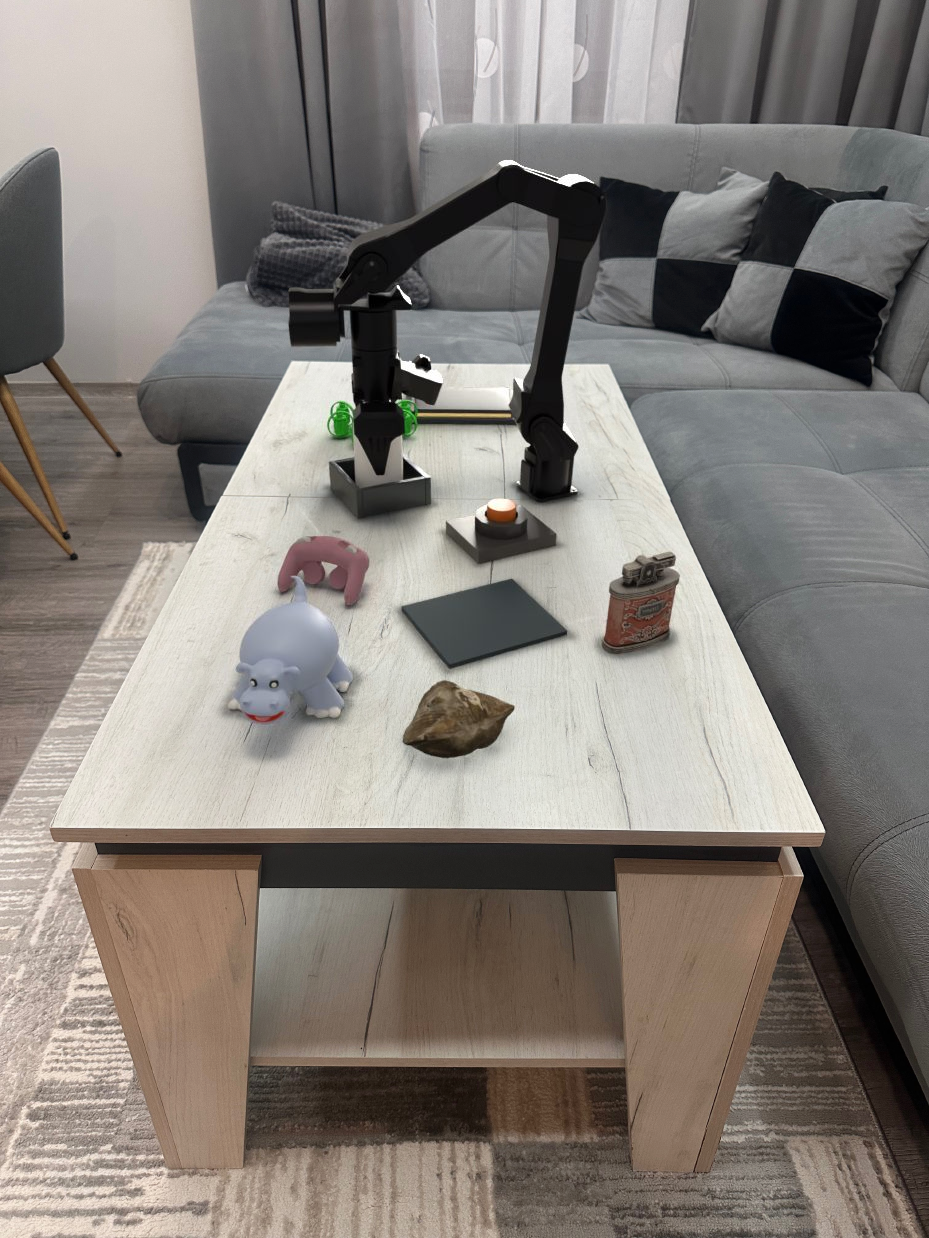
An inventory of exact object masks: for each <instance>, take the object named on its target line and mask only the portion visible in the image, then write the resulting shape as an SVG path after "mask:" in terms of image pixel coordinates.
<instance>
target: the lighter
mask: <svg viewBox="0 0 929 1238" xmlns="http://www.w3.org/2000/svg"><path fill="white" fill-rule="evenodd" d="M676 559H677V555H675V553H674V552H673V551H671V550H670V551H666V552H662V553H657V554H653V555H652V556H649V557H647V556H646V555H644V554H641V555H638V556H636V557H635V559H634V560H633V561H630V562H627V563H623V565H622V569H621V570H622V571H621V575H622V576H620V577H618V578H615V579H613V580H612V581H610V583H609V586H608V592H609V600H608V609H607V616H606V624H605V632H604V636H602V640H601V648H602V649H603V651H605V652H606V653H608V654H610V655H615V656H619V655H625V654H631V653H635V652H639V651H644V650H647V649H649V648H653V647H655V646H657V645H660V644H662V643H664V642H665V641H667V640H668V639H669V638H670V634H671V627H670V625H671V619H672V613H673V606H674V601H675V595H676V589H677V586H678V585H679V583H680V578H681V575H680V573H679V572H678V571H677V570H675V569H673V568H671V567H675V565H676Z"/></svg>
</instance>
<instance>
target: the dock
mask: <svg viewBox="0 0 929 1238" xmlns="http://www.w3.org/2000/svg"><path fill="white" fill-rule="evenodd" d="M402 453H403V480H401V481H395V482H390V483H385V484H380V485H374V486H369V487H364V488H359V487H358V486H357V485H356V480H355V463H354V456H352V457H347V458H341V459H336V460H329V461H328V472H329V473H328V474H329V486H330V489H331V490H332V492H333V493H334V494H335V495H336V497H338V498H339V499H340V501H341V502H342V504H344V505H345V506H346V508H348V509H349V511H350V512H351V513H352V514H353V515H354V517H355V518H356V519H357V520H361V519H366V518H369V517H375V516H380V515H385V514H389V513H394V512H400V511H404V510H409V509H413V508H419V507H425V506H429V505H431V504H432V477H431V476H430V475H429V474H428V473H427V472H425V470H424V469H423V468H421V467H420V466H419V465H418V464H417V463H416V462H415V461H413V460H412V459H411V458H410V457H409V456H408V455H407V454H405V453H404V452H403V451H402Z"/></svg>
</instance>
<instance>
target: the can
mask: <svg viewBox="0 0 929 1238" xmlns="http://www.w3.org/2000/svg"><path fill="white" fill-rule="evenodd" d="M353 443H354V444H353ZM353 443H352V444H353V457H354V463H355V480H356V485H357V486H358V487H359V488H364V487H369V486H374V485H380V484H385V483H390V482H395V481H401V480H403V453H404V452H403V436H402V435H401V436H400V437H397V438H395V439H394V440H393V441H392V442H391V446H390V450H389V455H388V460H387V465H386V469H385V474H384V475H376V474H375V472H374V470H373V468H372V466H371V464H370V462H369V460H368V458H367V456H366V454H365V452H364V450H363V448H362V446H361V444H360V442H359V440H358V438H357V437H356V436H355V435H354V422H353ZM402 452H403V453H402Z"/></svg>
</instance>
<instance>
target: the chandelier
mask: <svg viewBox="0 0 929 1238" xmlns="http://www.w3.org/2000/svg"><path fill="white" fill-rule="evenodd" d="M407 402H410V403H412V404H413V405H414V406H415V410H416V413H415V416H414V415H413V414H412V411H411V408H410V405H409V404H407ZM337 404H338V405H337ZM396 404H398V405H399V406H400V407H401V408H402V409H403V413H404V418H405V433H404V434H402V437H410V436H412V435H414V434H415V433H416V431H417V429H418V424H417V420H416V418H417V414H418V410H417V407H416V405H415V404H414V403H413V402H412V401H410V400H406V399H402V400H398V402H396ZM336 405H337V406H336ZM335 406H336V409H335V411H333V410H334V407H335ZM354 406H355V405H354ZM355 408H356V406H355ZM355 408H353V407H352V405H351V404H350V403H349V402H346V401H344V400H338V401H336V402H334V403H333V404H332V405H331V407H330V411H329V412H330V416H329V417H328V419H327V421H326V422H327V423H326V428H327V430H328V433H330V435H332V436H333V437H335V438H339V439H343V438H346V437H348V436H349V435H350V441H351V444H353V445H354V443H353V410H354V409H355ZM350 411H351V413H350ZM412 418H413V420H412ZM331 420H332V421H333V431H334V433H333V432H332V431H331V429H330V424H331V423H330V422H331ZM413 422H415V423H413ZM413 424H414V429H413V431H412V425H413ZM349 427H350V428H349Z"/></svg>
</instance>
